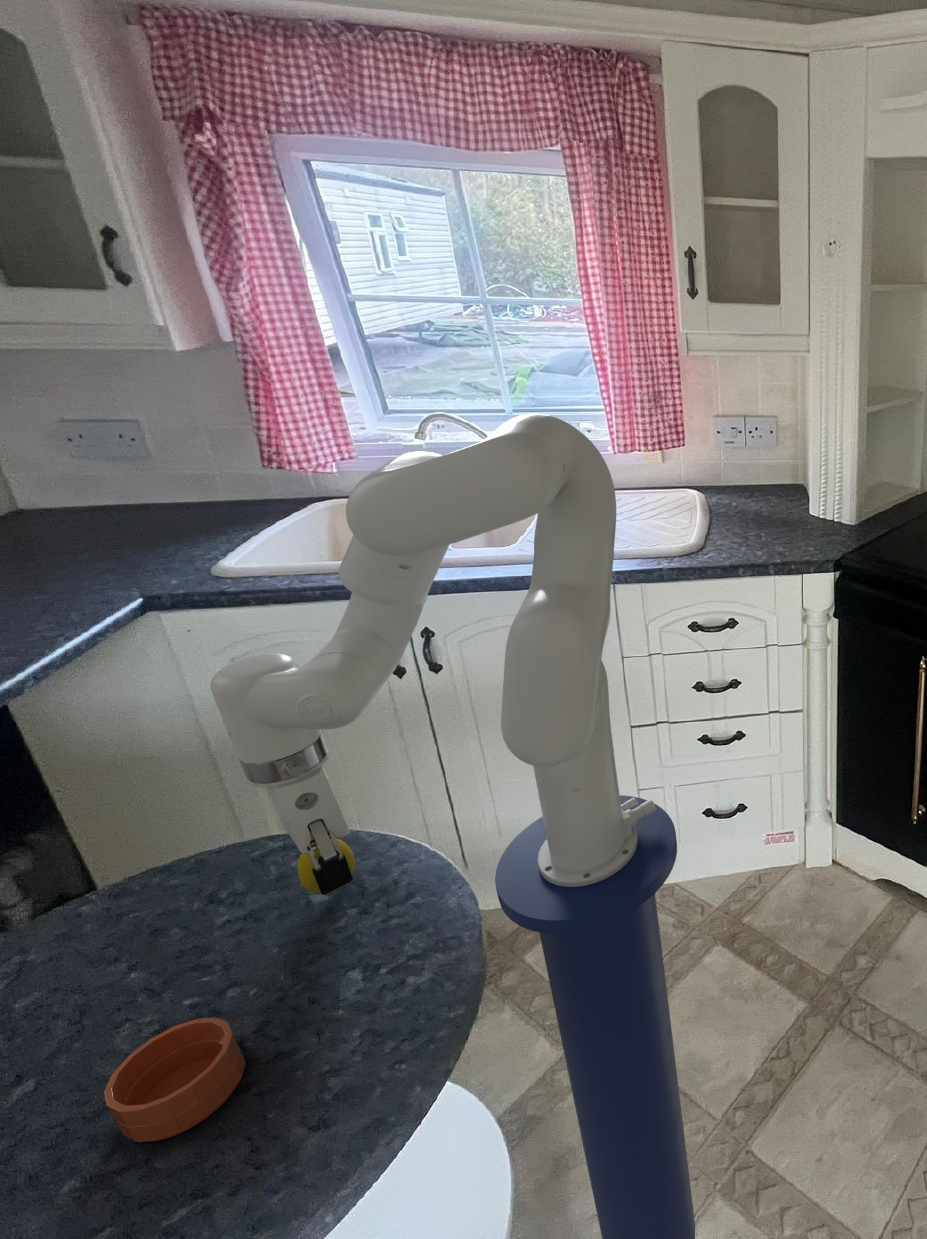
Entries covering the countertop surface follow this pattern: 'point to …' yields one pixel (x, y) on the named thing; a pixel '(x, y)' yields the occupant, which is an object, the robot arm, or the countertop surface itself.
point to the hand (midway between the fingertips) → (329, 872)
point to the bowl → (175, 1080)
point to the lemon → (307, 866)
